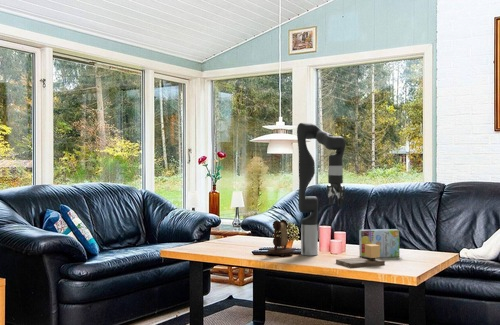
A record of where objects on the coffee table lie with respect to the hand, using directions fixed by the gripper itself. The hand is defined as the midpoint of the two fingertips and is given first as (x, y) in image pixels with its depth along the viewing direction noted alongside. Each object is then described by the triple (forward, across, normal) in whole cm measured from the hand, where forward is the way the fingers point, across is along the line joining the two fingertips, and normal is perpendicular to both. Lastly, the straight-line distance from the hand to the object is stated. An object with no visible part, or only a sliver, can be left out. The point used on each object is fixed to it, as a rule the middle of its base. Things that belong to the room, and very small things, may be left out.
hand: (335, 205), depth 289 cm
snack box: (+30, -5, +32) cm, 44 cm away
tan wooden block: (+26, +14, +13) cm, 32 cm away
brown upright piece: (+30, -33, -16) cm, 48 cm away
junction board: (+30, +11, +8) cm, 33 cm away
